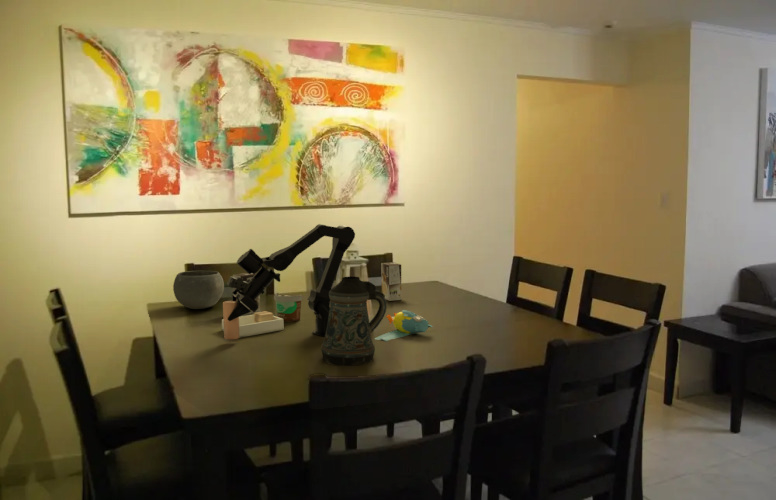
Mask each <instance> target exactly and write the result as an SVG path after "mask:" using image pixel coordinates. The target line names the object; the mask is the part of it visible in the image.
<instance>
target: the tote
mask: <svg viewBox="0 0 776 500" xmlns="http://www.w3.org/2000/svg"><path fill="white" fill-rule="evenodd" d="M284 325H285V323H284V319H282V318H279V317H277V316H275V315H273V320H271V321H264V322H258V323H254V314H248V315H242V316H240V317H239V332H240V337H239V338H238V339H240V338H245V337H246V338H247V337H250V336H251V337H252V336H256V335H262V334H267V333H272V332H278V331H279V332H280V331H284V330H285V328H284V327H285V326H284ZM221 330H222V331H223V332H224V318H223V319H221Z"/></svg>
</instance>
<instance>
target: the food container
mask: <svg viewBox="0 0 776 500" xmlns="http://www.w3.org/2000/svg"><path fill="white" fill-rule="evenodd" d="M303 300H304V299H303V296H302V294H300V295H299V294H298V295H290V294H279V292H275V293H274V296H273V301H275V305H276V306H275V307H276V315H277V316H276V317H279V318H282V319H284V322H285V323H287V322H288V323H289V322H291V323H292V322H298V321H301V311H302V310H301V309H302V301H303Z"/></svg>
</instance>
